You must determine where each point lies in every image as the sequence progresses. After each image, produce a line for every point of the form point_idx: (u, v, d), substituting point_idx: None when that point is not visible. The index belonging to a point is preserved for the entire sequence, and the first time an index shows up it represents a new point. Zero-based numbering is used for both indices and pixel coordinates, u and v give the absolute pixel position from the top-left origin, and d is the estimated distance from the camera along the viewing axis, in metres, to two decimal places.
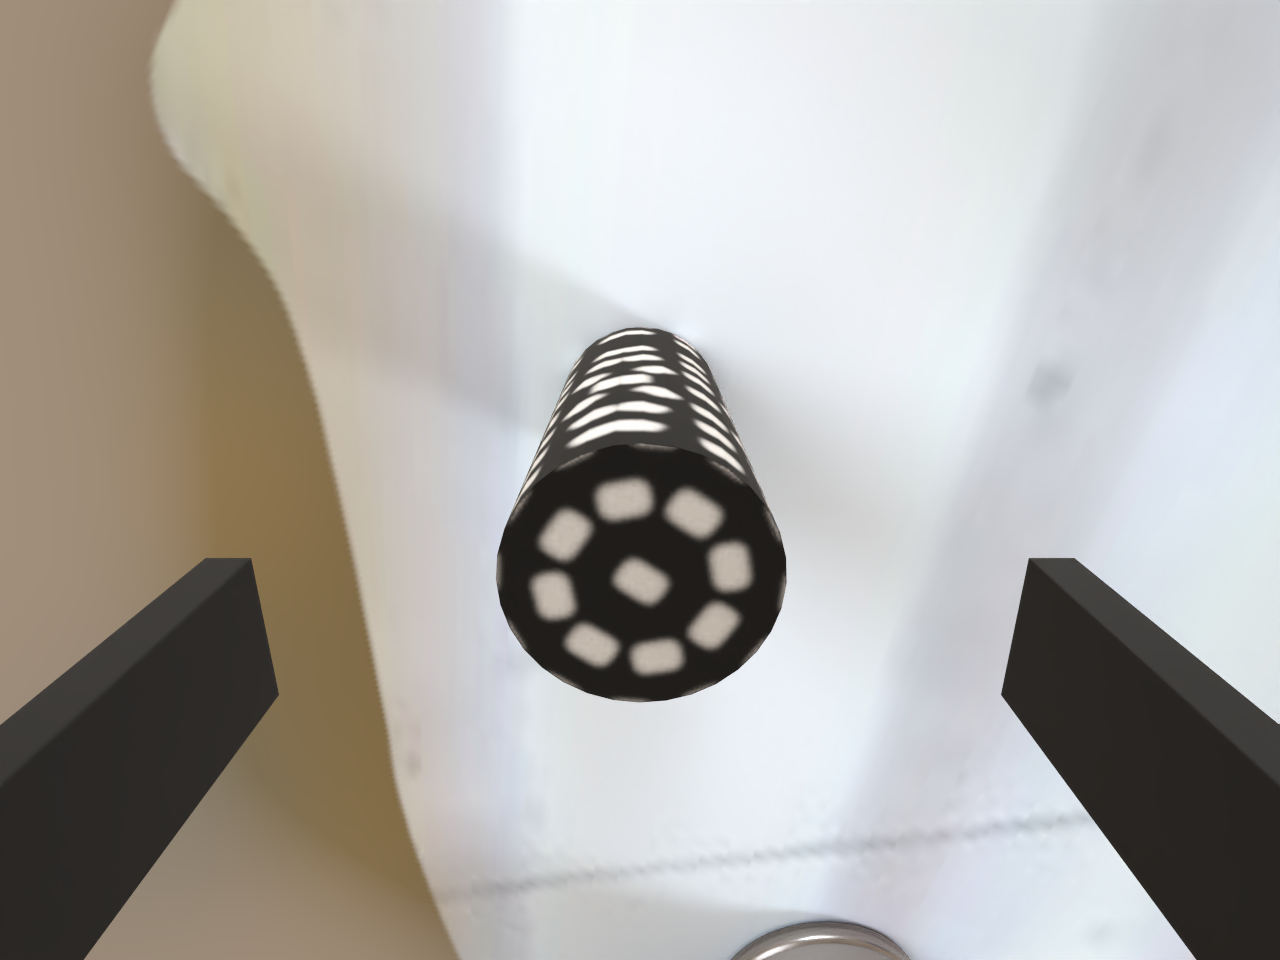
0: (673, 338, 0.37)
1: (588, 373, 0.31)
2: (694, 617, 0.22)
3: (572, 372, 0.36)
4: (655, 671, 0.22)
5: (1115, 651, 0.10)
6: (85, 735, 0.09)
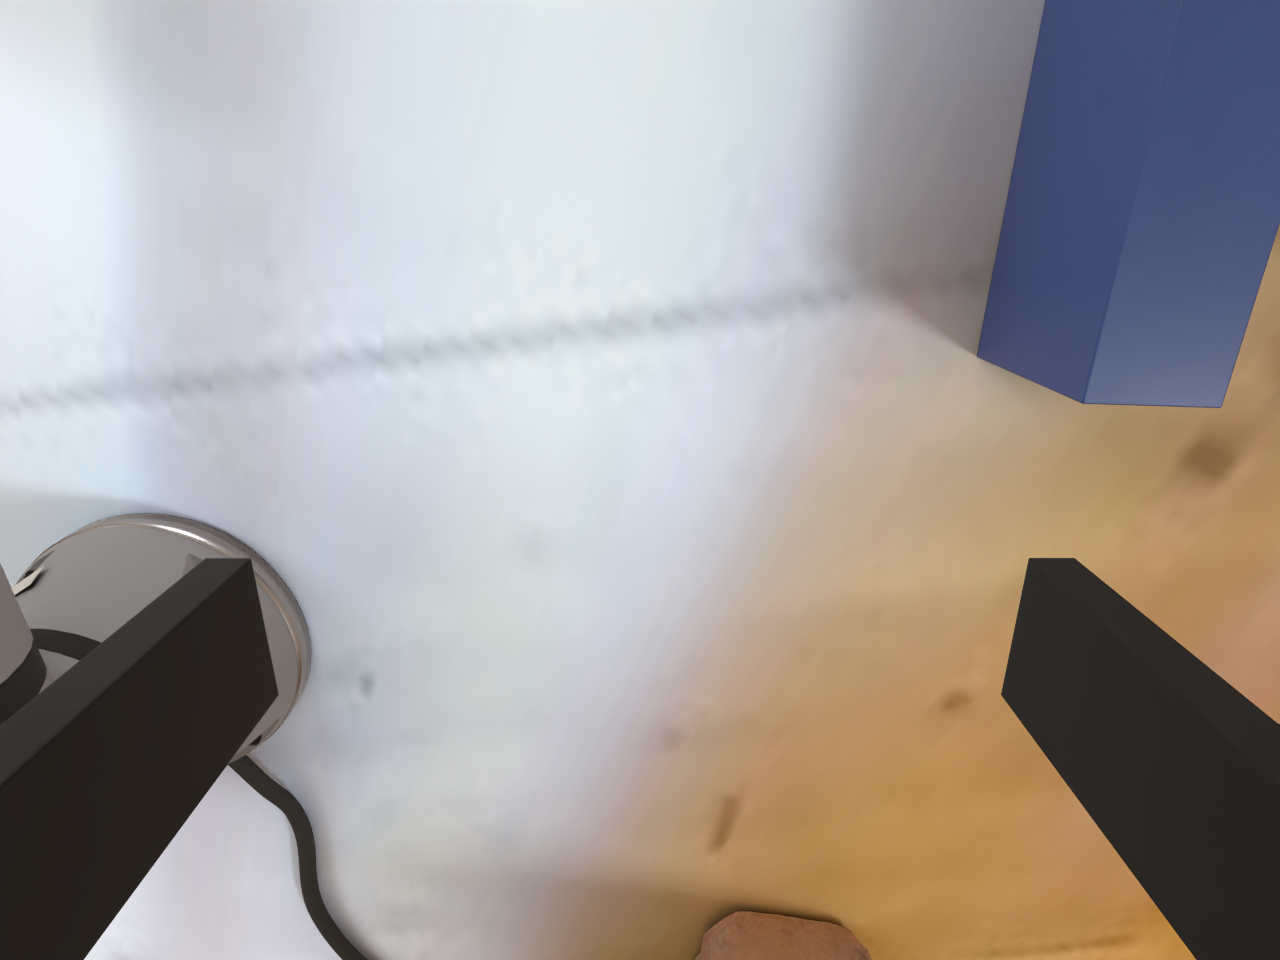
0: None
1: None
2: None
3: None
4: None
5: (1115, 651, 0.10)
6: (85, 735, 0.09)
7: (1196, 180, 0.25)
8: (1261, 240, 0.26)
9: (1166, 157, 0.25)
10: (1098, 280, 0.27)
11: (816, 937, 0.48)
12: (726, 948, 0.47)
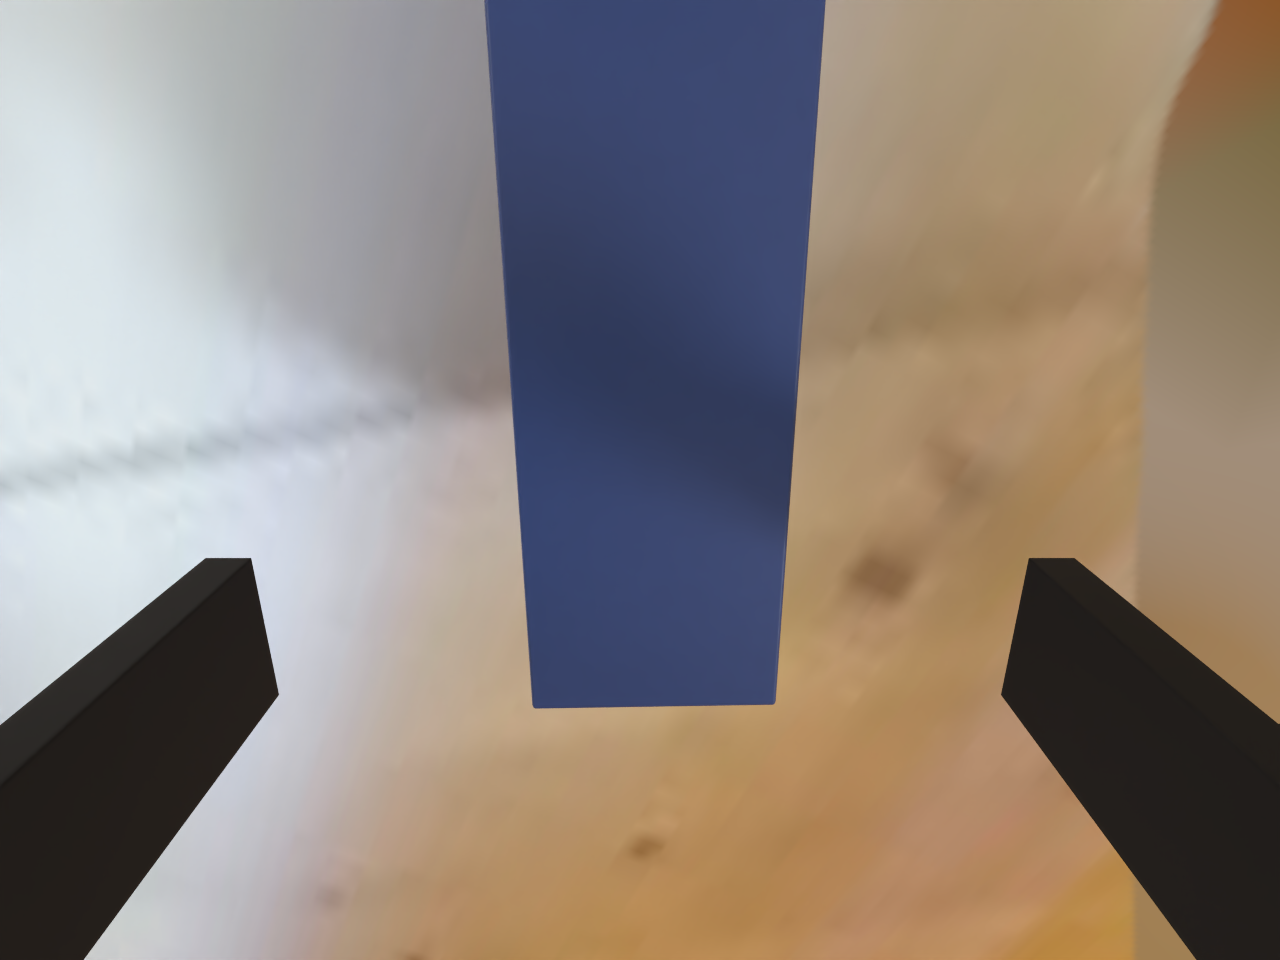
0: None
1: None
2: None
3: None
4: None
5: (1115, 651, 0.10)
6: (85, 735, 0.09)
7: (618, 349, 0.14)
8: (769, 445, 0.14)
9: (549, 313, 0.13)
10: None
11: None
12: None
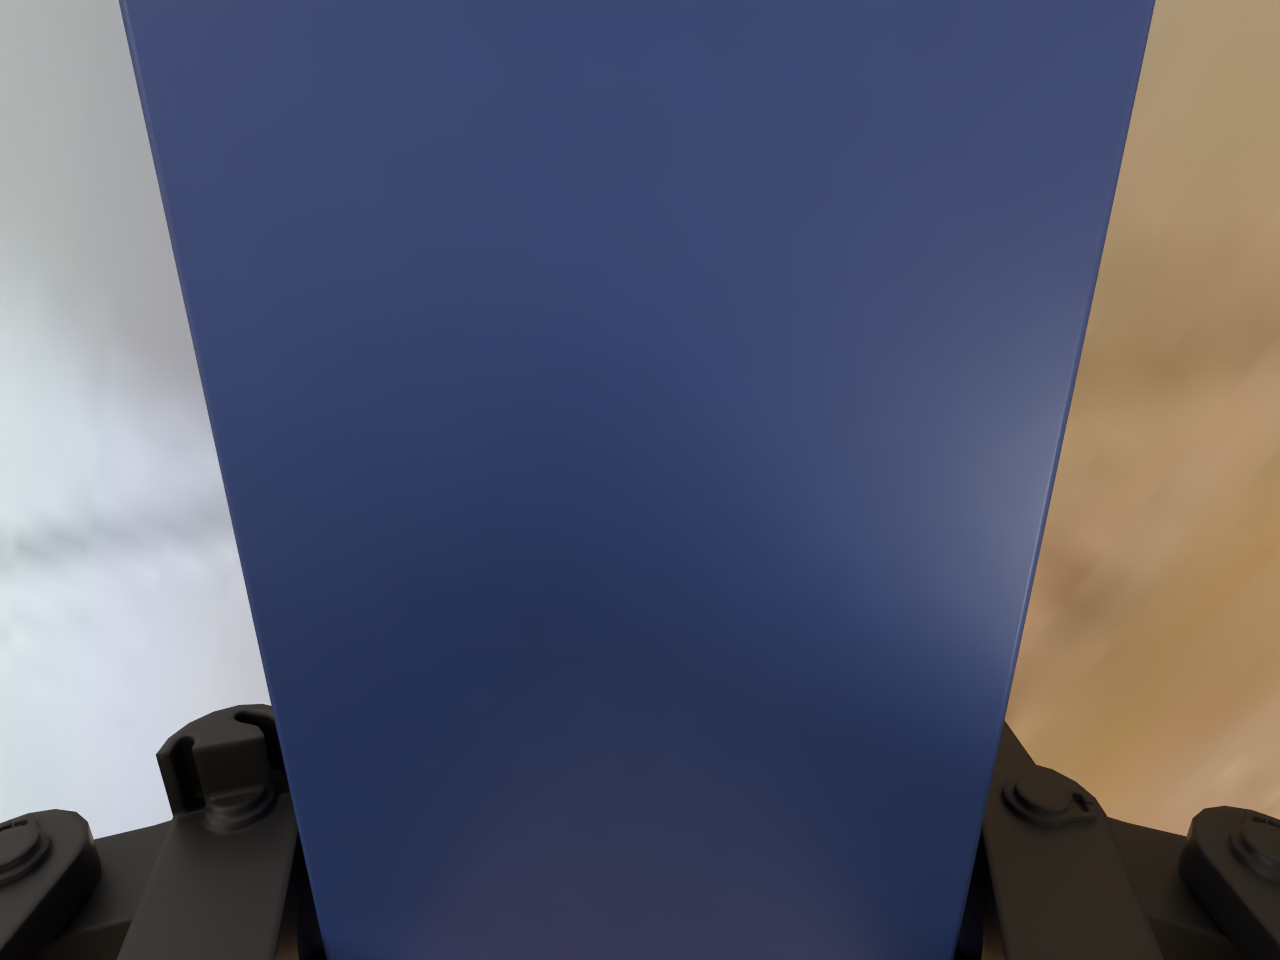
0: None
1: None
2: None
3: None
4: None
5: None
6: None
7: (545, 638, 0.05)
8: (920, 843, 0.06)
9: (353, 553, 0.05)
10: None
11: None
12: None
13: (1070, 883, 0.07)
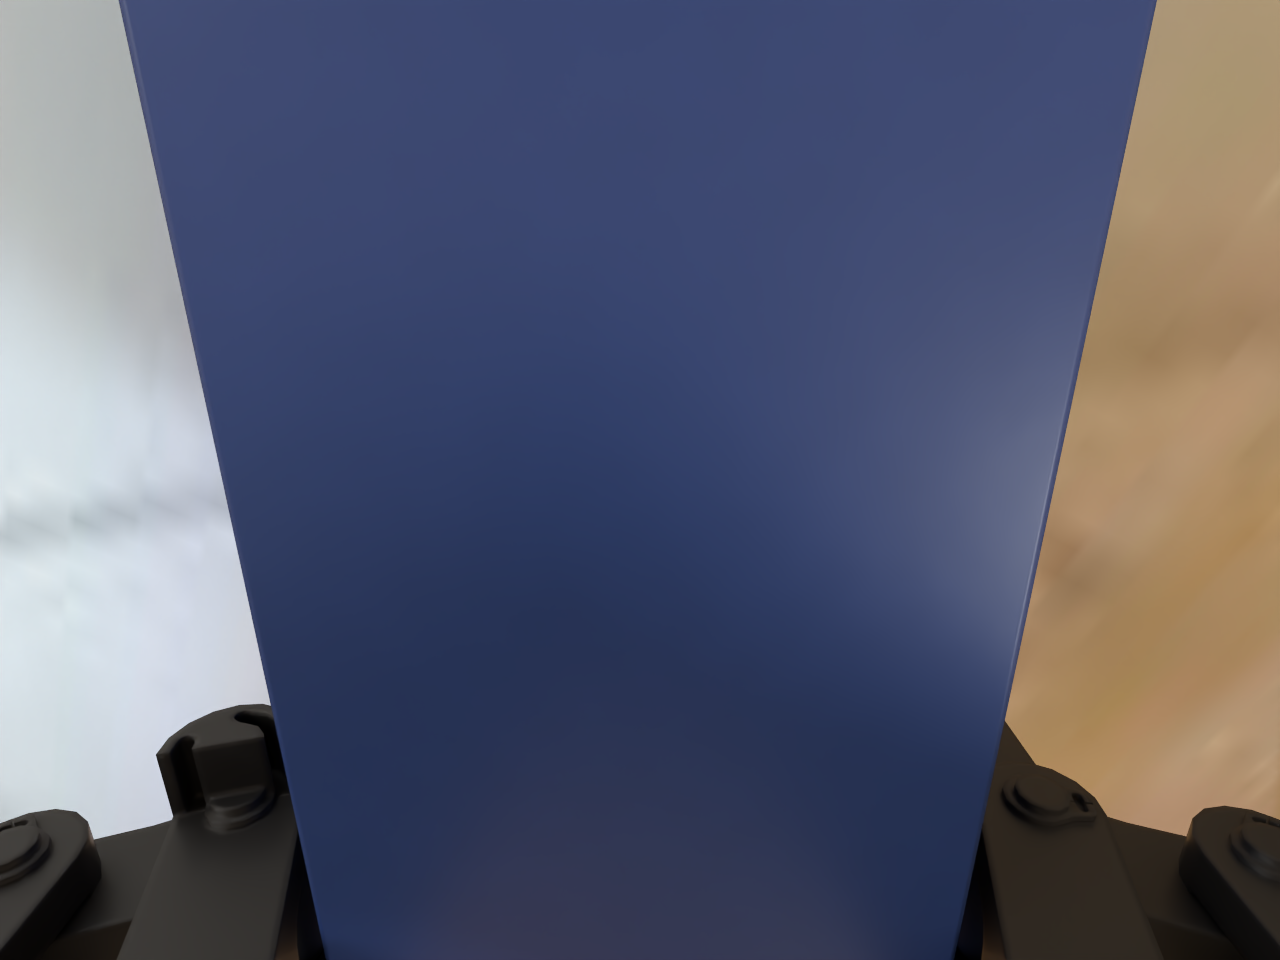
0: None
1: None
2: None
3: None
4: None
5: None
6: None
7: (545, 640, 0.05)
8: (920, 844, 0.06)
9: (353, 553, 0.05)
10: None
11: None
12: None
13: (1071, 883, 0.07)
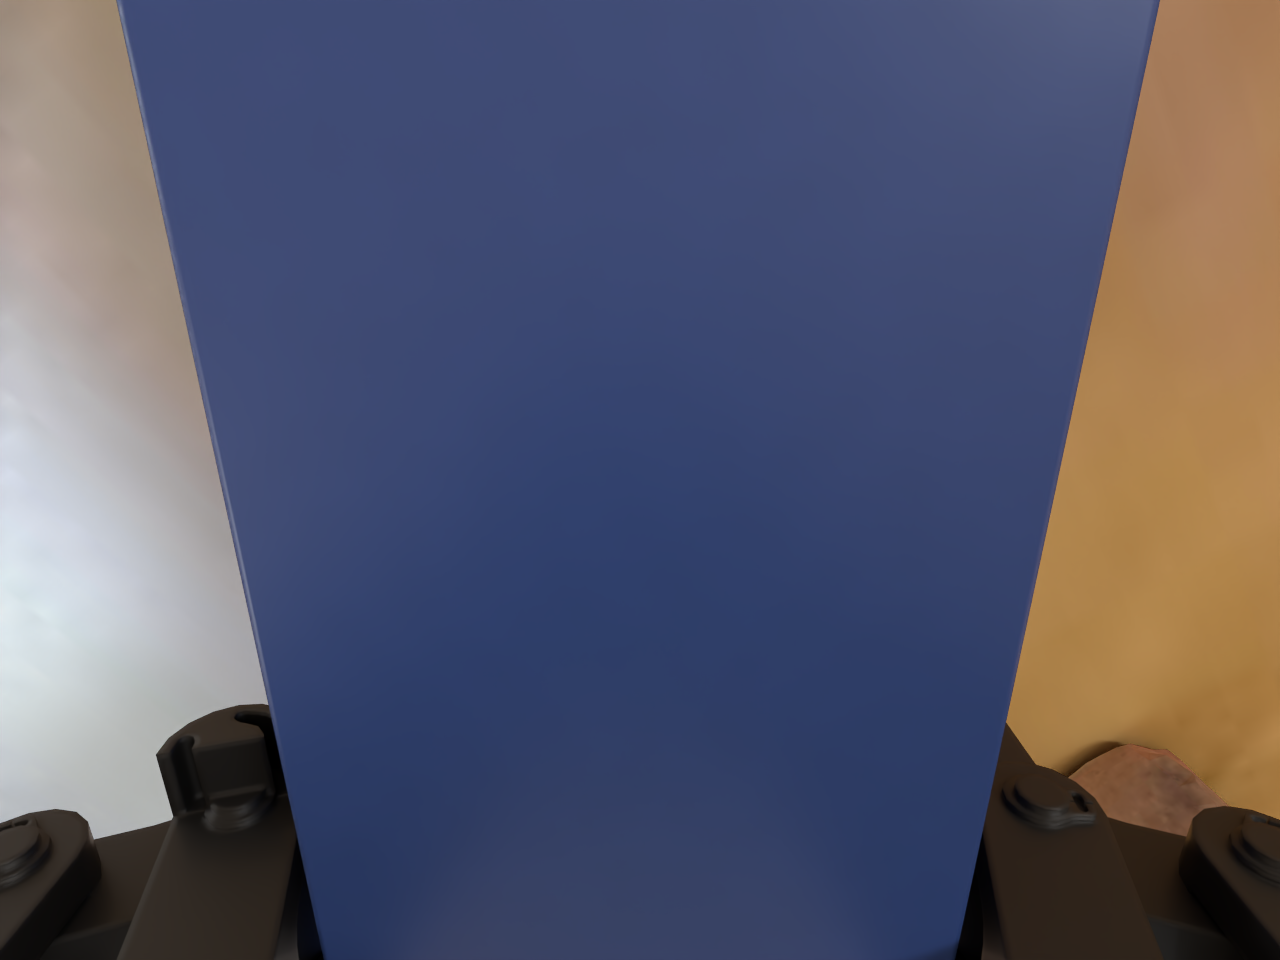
0: None
1: None
2: None
3: None
4: None
5: None
6: None
7: (543, 637, 0.05)
8: (922, 843, 0.06)
9: (351, 549, 0.05)
10: None
11: None
12: None
13: (1071, 883, 0.07)
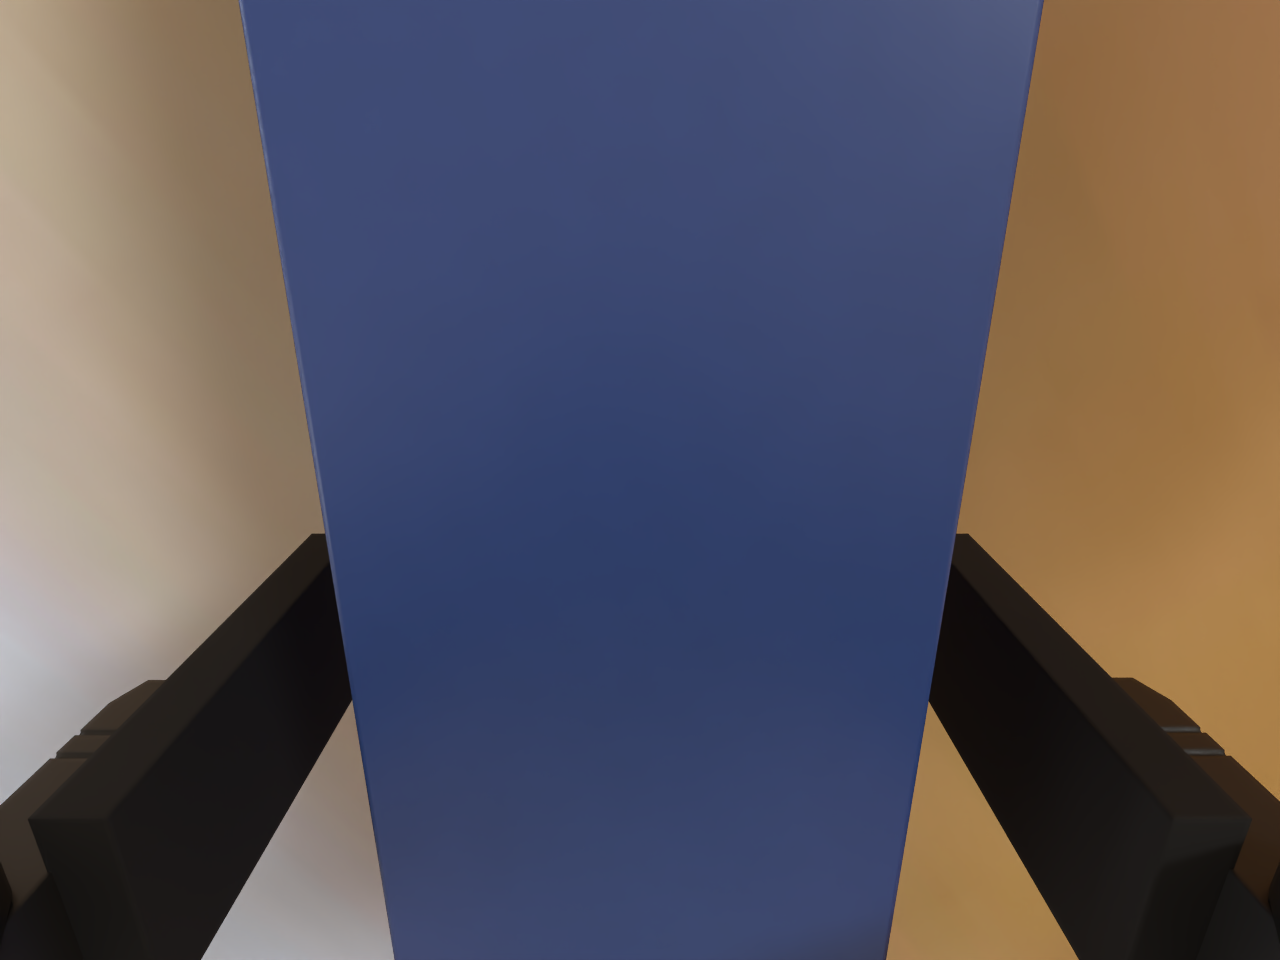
0: None
1: None
2: None
3: None
4: None
5: (984, 614, 0.11)
6: (244, 684, 0.09)
7: (563, 567, 0.06)
8: (872, 745, 0.07)
9: (411, 495, 0.06)
10: None
11: None
12: None
13: None
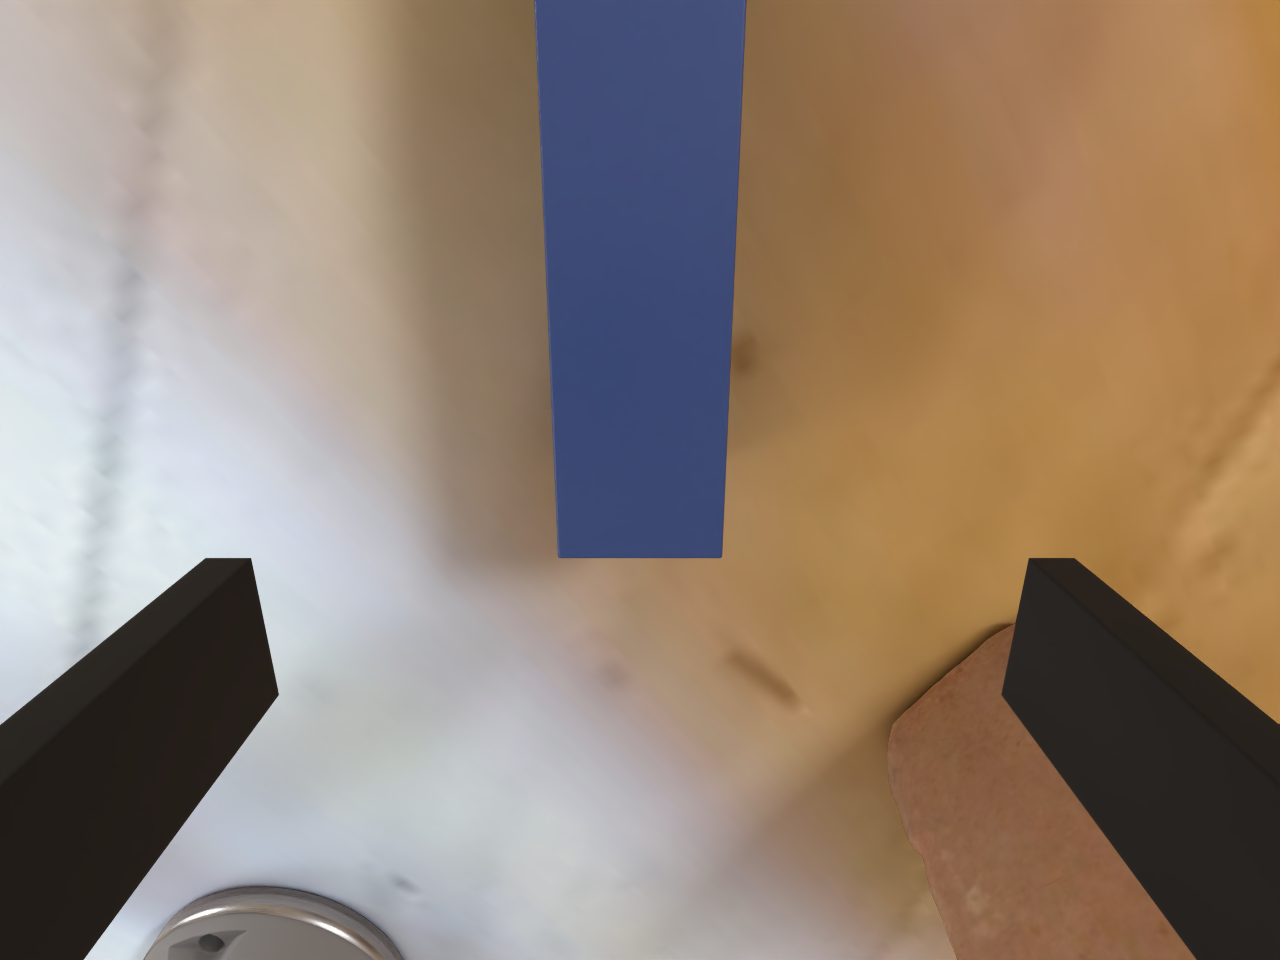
0: None
1: None
2: None
3: None
4: None
5: (1115, 651, 0.10)
6: (85, 735, 0.09)
7: (617, 312, 0.22)
8: (713, 376, 0.22)
9: (574, 289, 0.21)
10: None
11: (979, 670, 0.35)
12: (897, 776, 0.35)
13: None
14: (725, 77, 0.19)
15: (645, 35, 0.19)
